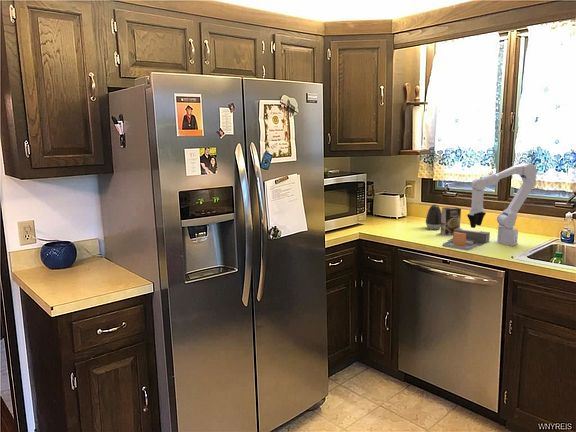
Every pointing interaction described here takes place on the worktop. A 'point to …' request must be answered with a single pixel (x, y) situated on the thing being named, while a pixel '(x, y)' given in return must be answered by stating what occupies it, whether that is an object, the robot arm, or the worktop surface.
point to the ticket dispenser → (474, 236)
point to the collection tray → (468, 246)
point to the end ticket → (459, 239)
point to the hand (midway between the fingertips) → (475, 226)
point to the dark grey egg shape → (434, 217)
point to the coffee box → (450, 220)
